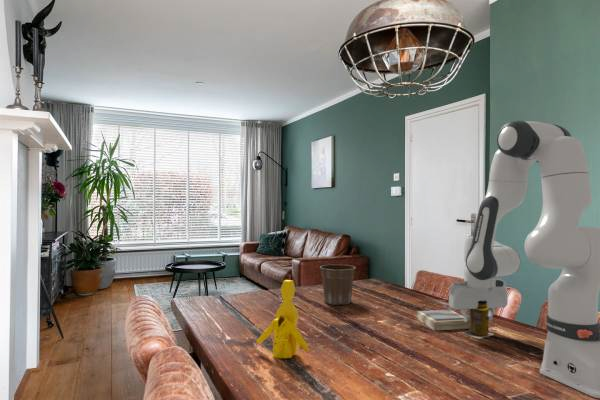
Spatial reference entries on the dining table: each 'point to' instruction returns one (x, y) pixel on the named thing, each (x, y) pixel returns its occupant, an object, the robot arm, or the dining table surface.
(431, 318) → the base
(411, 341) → the dining table surface
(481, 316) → the condiment
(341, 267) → the plant pot
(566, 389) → the dining table surface
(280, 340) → the figure statuette
